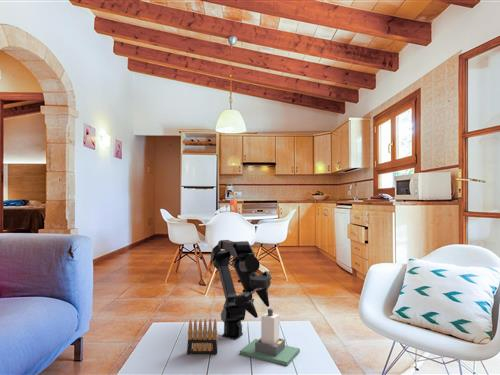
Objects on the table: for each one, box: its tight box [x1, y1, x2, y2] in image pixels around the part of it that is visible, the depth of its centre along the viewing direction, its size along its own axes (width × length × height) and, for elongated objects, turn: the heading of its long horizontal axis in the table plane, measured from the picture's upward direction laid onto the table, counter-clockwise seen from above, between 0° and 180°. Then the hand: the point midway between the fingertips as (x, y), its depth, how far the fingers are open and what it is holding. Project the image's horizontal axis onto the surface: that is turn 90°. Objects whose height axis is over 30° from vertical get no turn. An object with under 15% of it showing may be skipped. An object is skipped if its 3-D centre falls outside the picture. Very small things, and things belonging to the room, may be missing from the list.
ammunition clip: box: [186, 318, 218, 356], centre depth 117 cm, size 11×2×12 cm, turn 90°
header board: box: [239, 337, 301, 367], centre depth 118 cm, size 18×12×4 cm, turn 62°
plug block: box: [260, 308, 280, 346], centre depth 118 cm, size 5×4×14 cm
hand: (262, 311), depth 124 cm, fingers open, 9 cm apart
